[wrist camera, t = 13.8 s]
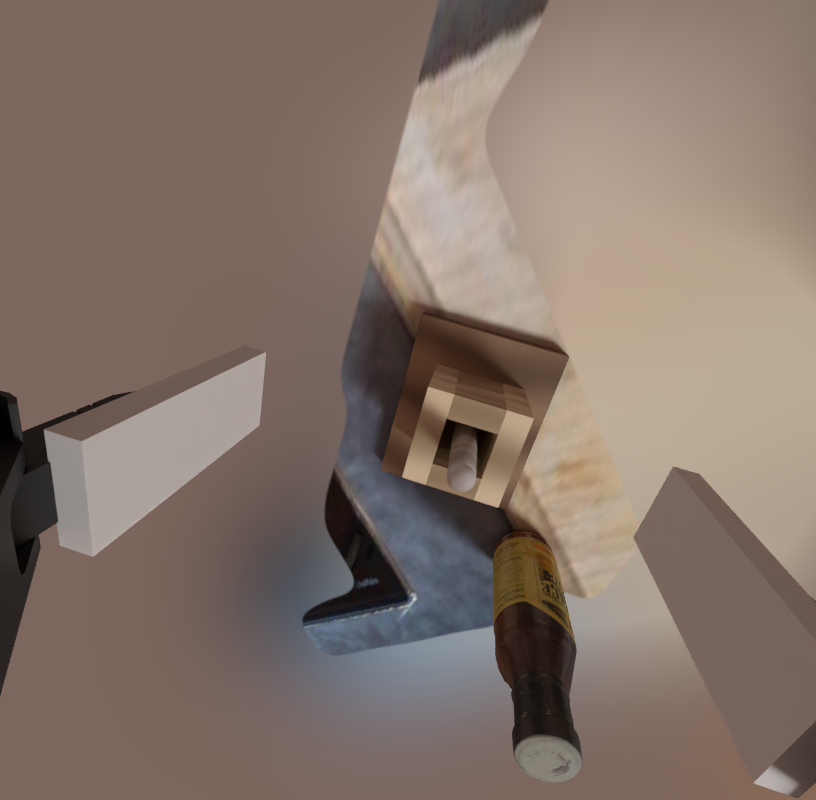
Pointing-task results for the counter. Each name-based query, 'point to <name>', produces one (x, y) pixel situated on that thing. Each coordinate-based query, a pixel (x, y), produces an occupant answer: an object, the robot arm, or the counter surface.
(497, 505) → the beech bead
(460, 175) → the counter surface
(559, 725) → the sauce bottle
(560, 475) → the counter surface
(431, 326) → the rod stand
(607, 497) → the counter surface
